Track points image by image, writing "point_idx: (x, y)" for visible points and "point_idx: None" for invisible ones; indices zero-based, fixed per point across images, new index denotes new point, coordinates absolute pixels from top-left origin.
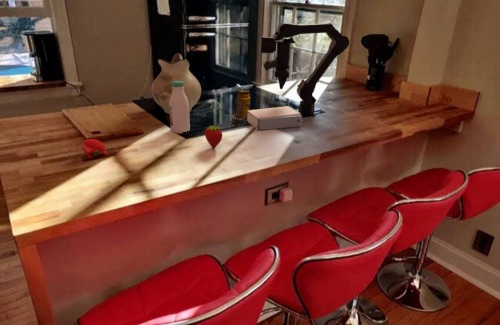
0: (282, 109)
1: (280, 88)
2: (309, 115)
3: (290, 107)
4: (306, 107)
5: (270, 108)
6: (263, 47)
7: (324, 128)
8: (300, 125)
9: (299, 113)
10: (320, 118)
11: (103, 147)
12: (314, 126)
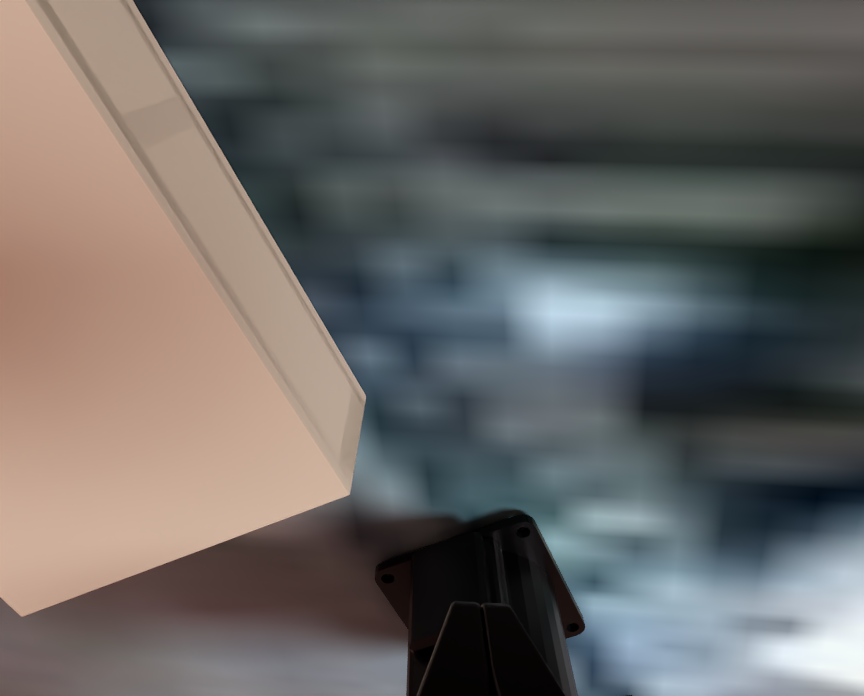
0: (126, 401)
1: (444, 629)
2: (403, 621)
3: (280, 519)
4: (407, 677)
5: (117, 185)
6: None
7: (58, 684)
8: None
9: (11, 604)
10: (360, 686)
11: None
12: (85, 621)
